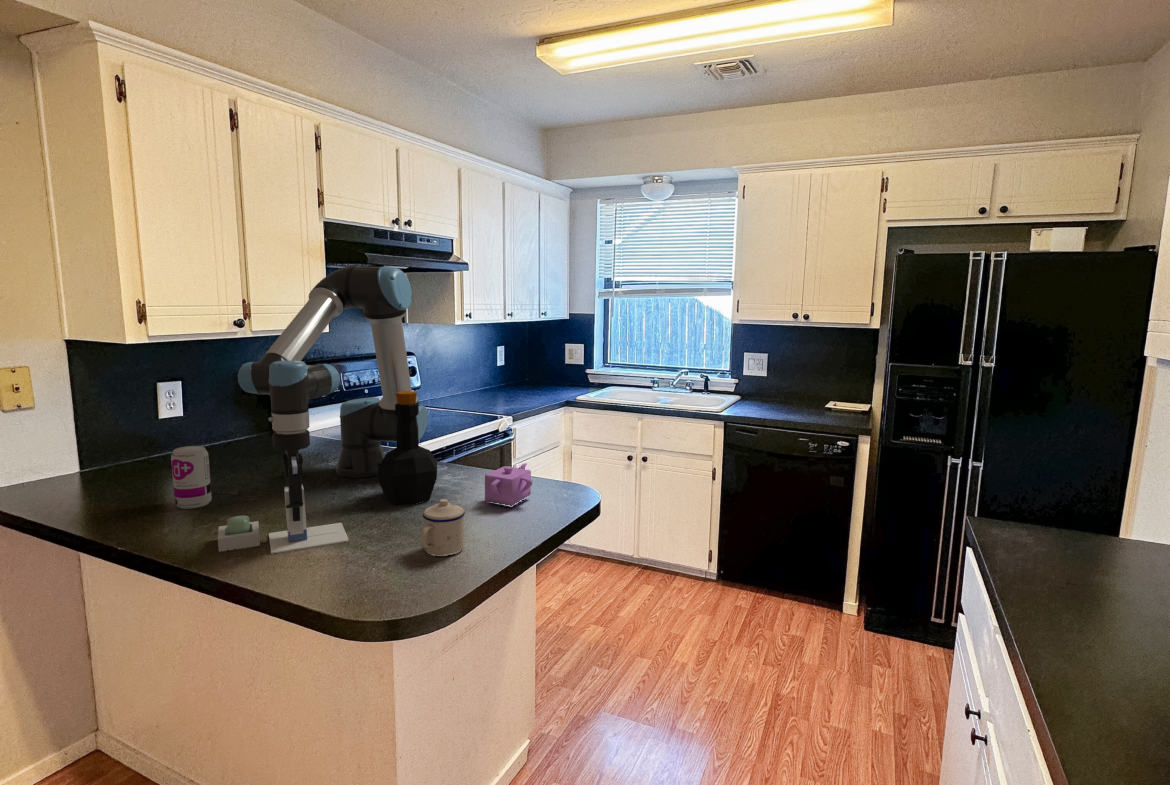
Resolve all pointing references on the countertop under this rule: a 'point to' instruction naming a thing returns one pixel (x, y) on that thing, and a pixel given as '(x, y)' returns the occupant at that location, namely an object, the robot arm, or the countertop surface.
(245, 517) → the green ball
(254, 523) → the housing
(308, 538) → the slotted base plate
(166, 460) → the countertop surface
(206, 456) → the supplement can
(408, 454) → the bottle
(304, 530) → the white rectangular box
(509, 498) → the teapot
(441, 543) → the teacup with lid
